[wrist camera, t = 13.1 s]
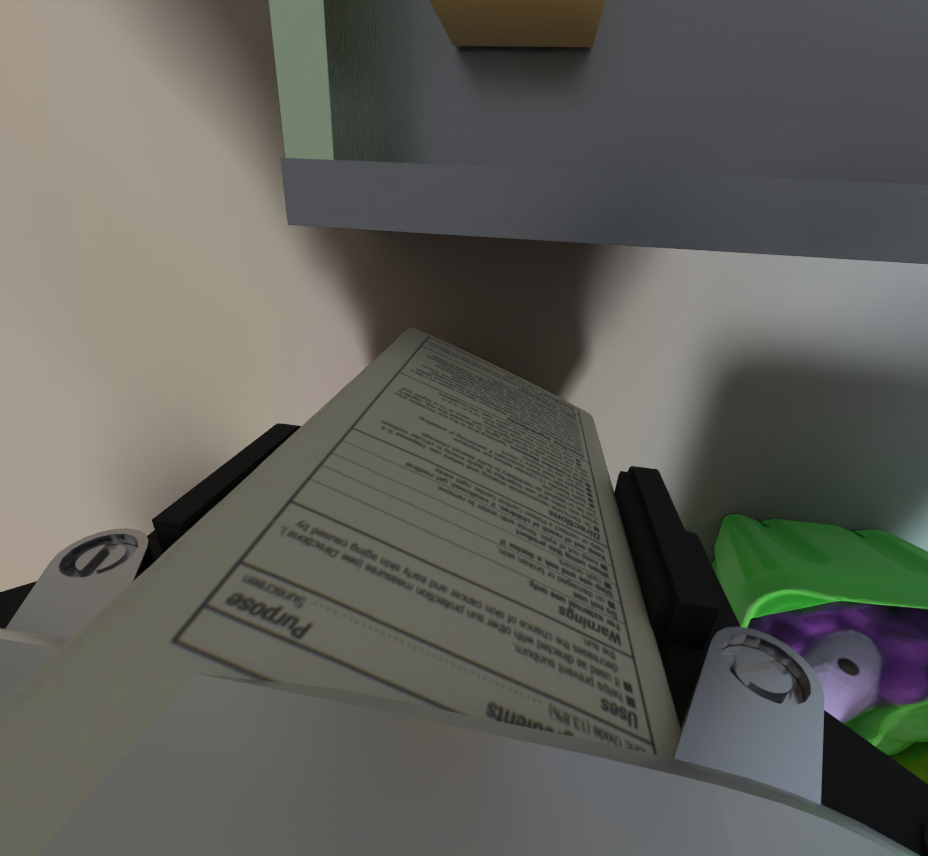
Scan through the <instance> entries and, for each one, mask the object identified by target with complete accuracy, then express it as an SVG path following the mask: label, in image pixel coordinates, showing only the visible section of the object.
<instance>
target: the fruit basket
mask: <svg viewBox="0 0 928 856" xmlns="http://www.w3.org/2000/svg"><path fill="white" fill-rule="evenodd" d="M714 552H715V560H714V561H713V562H712V564H711V565H712V567H713V569H714V571H715V573H716V576H717V578H718V580H719V582H720V584H721V586H722V588H723V590H724V592H725V594H726V597H727V599H728V601H729V603H730V605H731V607H732V609H733V611H734V613H735V615H736V618H737V620H738V622H739V624H740V626H741V627H745V628H751V629H755V630H758V631H761V632H763V633H766V634H769V635H771V636H773V637H774V638H776V639H778V640H780V641H781V642H783V643H785V644H787V645H788V646H789V647H790V648H792V649H793V650H794V651H795V652H797V653H798V654H799V655H800V656H802V657H803V659H804V660H805V661H806V662H807V663H808V664H809V665H810V666H811V667H812V669H813V670H814V671H815V673H816V675H817V676H818V678H819V680H820V682H821V684H822V687H823V692H824V697H825V699H824V710H825V711H827V712H828V713H829V714H831V715H832V716H834V717H835V718H836V719H838V720H839V721H840V722H842V723H843V724H845V725H846V726H847V727H849V728H850V729H852V730H853V731H854V732H856V733H857V734H859V735H860V736H861V737H863V738H864V739H866V740H867V741H868V742H870V743H871V744H873V745H874V746H875V747H877V748H878V749H880V750H881V751H882V752H884V753H885V754H886V755H888V756H889V757H891V758H892V759H893V760H895V761H896V762H898V763H899V764H900V765H902V766H903V767H905V768H906V769H907V770H909V771H910V772H912V773H913V774H914V775H916V776H917V777H919V778H920V779H921V780H923V781H924V782H926V783H927V784H928V552H927V551H925V550H923V549H921V548H919V547H917V546H915V545H913V544H911V543H909V542H907V541H905V540H903V539H900V538H898V537H896V536H894V535H892V534H890V533H888V532H886V531H883V530H874V529H868V530H856V531H853V532H852V531H850V530H847V529H844V528H841V527H839V526H837V525H830V524H820V523H810V522H801V521H792V520H783V519H771V520H763V521H760V522H758V521H757V520H755V519H751V518H749V517H747V516H745V515H738V514H729V515H727V516H725V518H724V519H723V521H722V524H721V527H720V530H719V533H718V536H717V539H716V542H715V546H714Z"/></svg>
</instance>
